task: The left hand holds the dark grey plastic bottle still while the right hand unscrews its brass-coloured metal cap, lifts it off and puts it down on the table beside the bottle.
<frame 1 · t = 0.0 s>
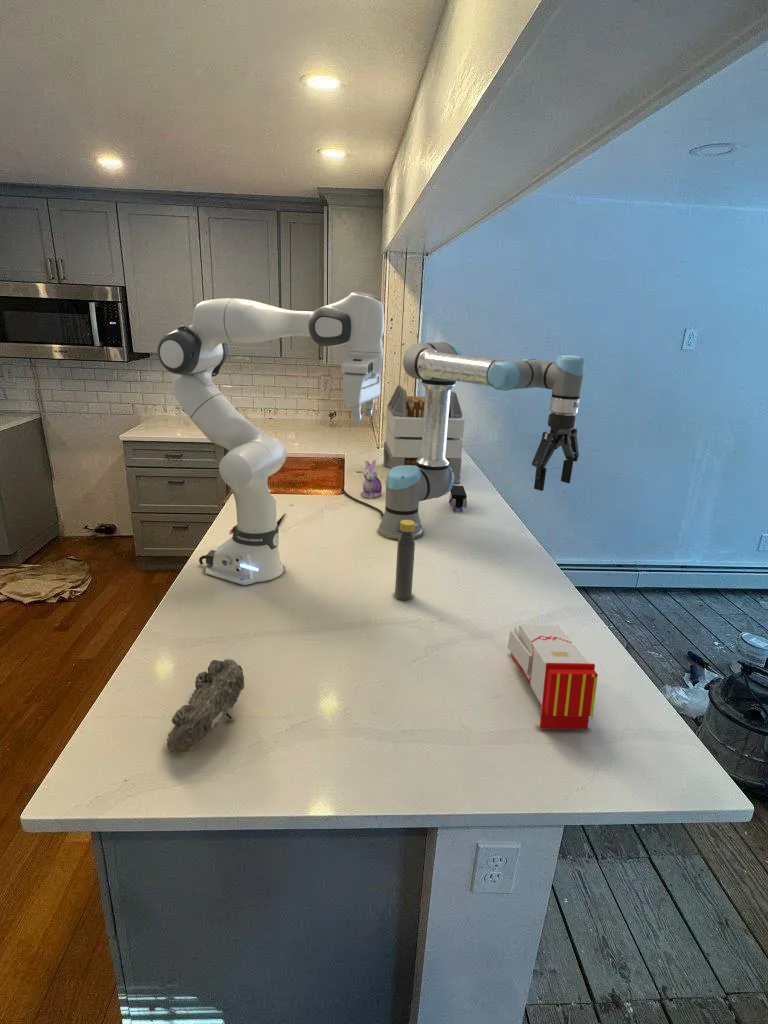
left hand: (362, 419, 144), 48 cm above the counter, tool pointing down, fingers open, 8 cm apart
right hand: (552, 485, 166), 28 cm above the counter, tool pointing down, fingers open, 13 cm apart
transformer: (419, 473, 275), on the counter
toy: (542, 685, 122), on the counter
grey elongated lump: (212, 717, 108), on the counter
figurine: (371, 495, 239), on the counter
feather: (283, 517, 211), on the counter
figurine character: (456, 507, 229), on the counter
bottle: (403, 595, 157), on the counter
cap: (407, 523, 150), point 22 cm above the counter, screwed on, not yet turned
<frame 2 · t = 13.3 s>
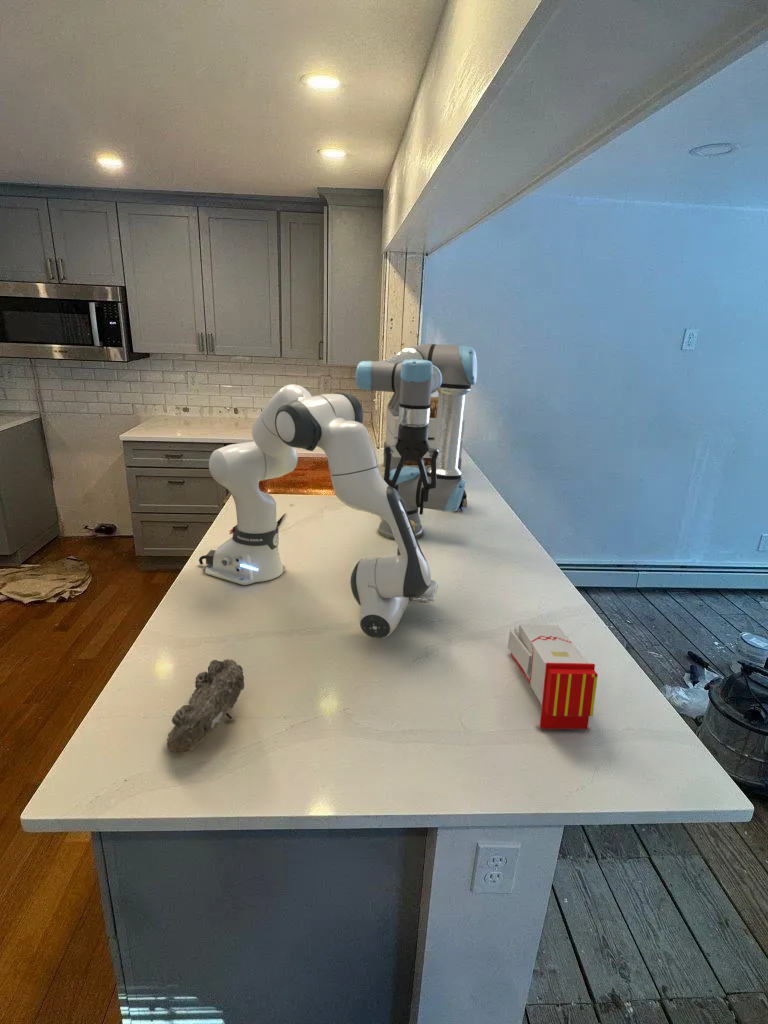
left hand: (405, 573, 156), 7 cm above the counter, tool horizontal, fingers closed on bottle, 4 cm apart
right hand: (408, 511, 148), 25 cm above the counter, tool pointing down, fingers open, 6 cm apart
bottle: (403, 595, 157), on the counter, touching left hand
everything else where it was.
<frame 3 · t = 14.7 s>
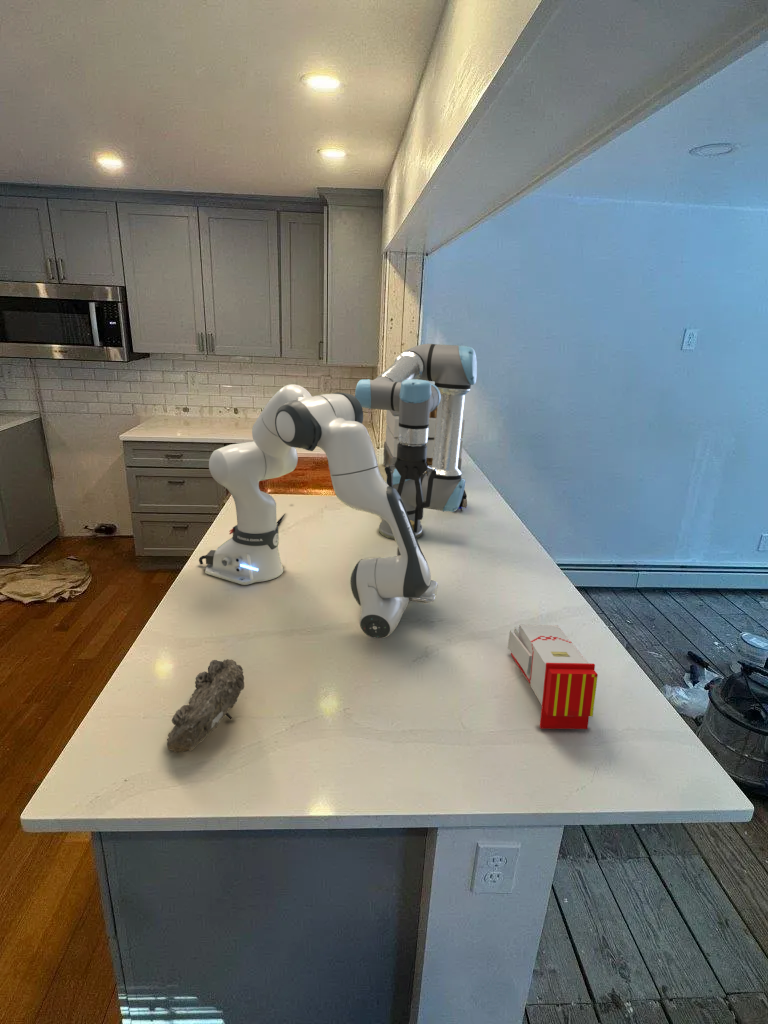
left hand: (405, 573, 156), 7 cm above the counter, tool horizontal, fingers closed on bottle, 4 cm apart
right hand: (407, 529, 150), 20 cm above the counter, tool pointing down, fingers closed on cap, 4 cm apart
bottle: (403, 595, 157), on the counter, touching left hand
cap: (407, 523, 150), point 22 cm above the counter, screwed on, not yet turned, touching right hand
everything else where it was.
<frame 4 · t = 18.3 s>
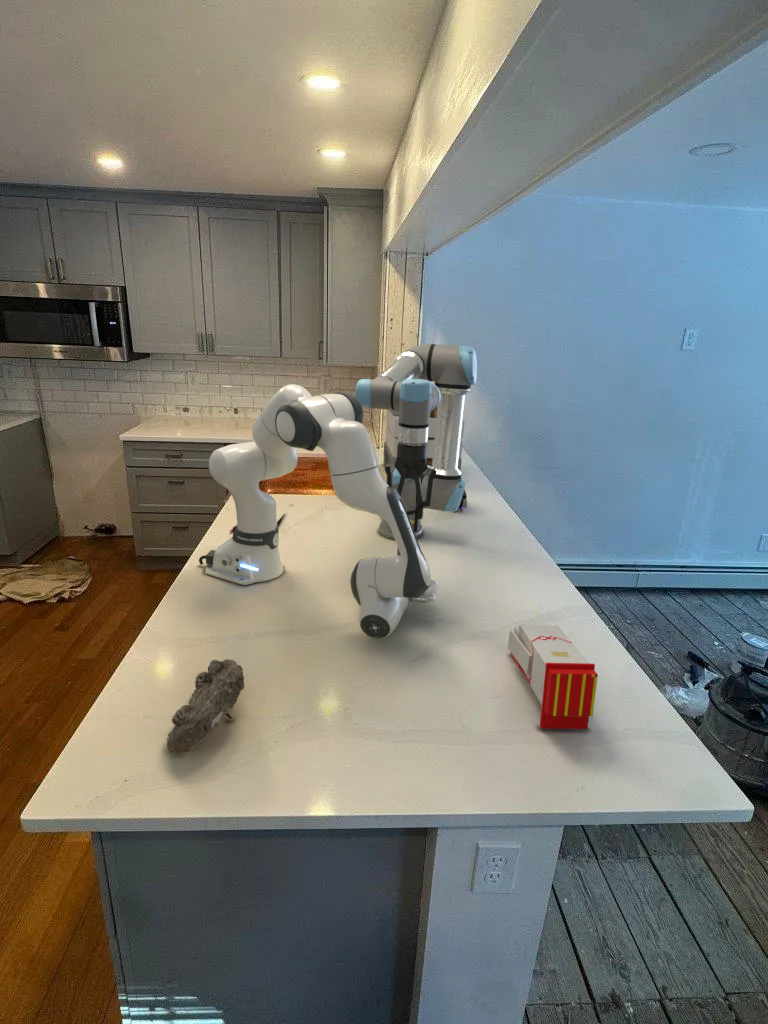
left hand: (405, 573, 156), 7 cm above the counter, tool horizontal, fingers closed on bottle, 4 cm apart
right hand: (407, 529, 150), 20 cm above the counter, tool pointing down, fingers closed on cap, 4 cm apart
bottle: (403, 595, 157), on the counter, touching left hand
cap: (407, 522, 150), point 22 cm above the counter, turned 119° so far, risen 0.1 cm, still on its thread, touching right hand
everything else where it was.
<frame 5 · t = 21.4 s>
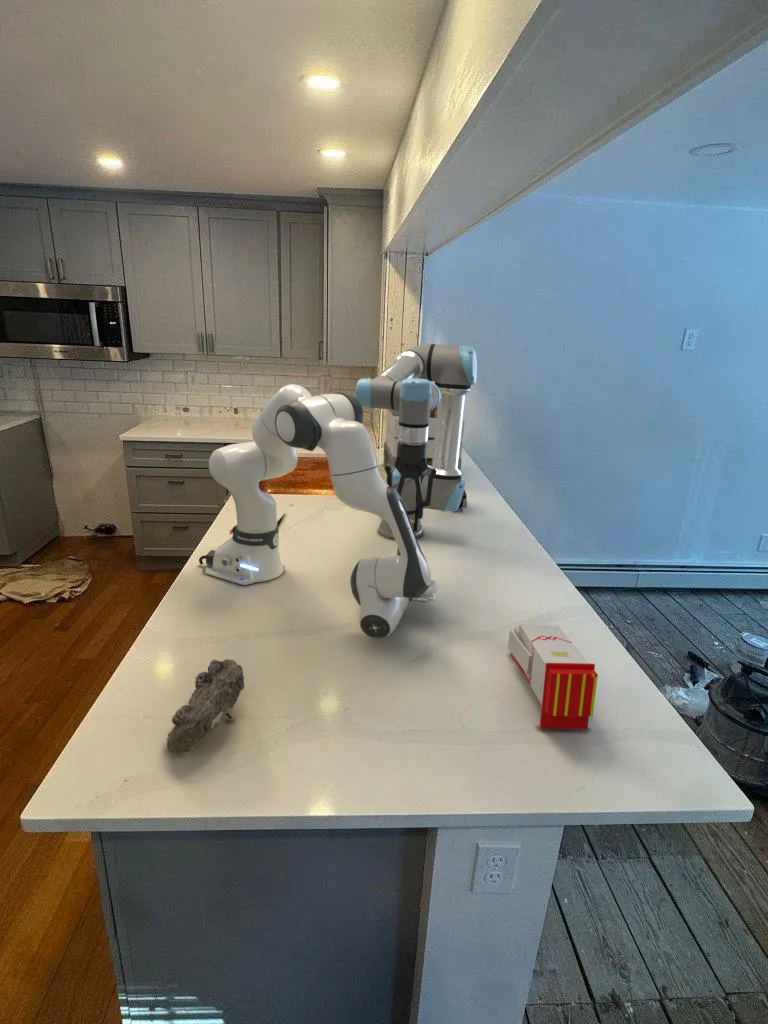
left hand: (405, 573, 156), 7 cm above the counter, tool horizontal, fingers closed on bottle, 4 cm apart
right hand: (407, 528, 150), 20 cm above the counter, tool pointing down, fingers closed on cap, 4 cm apart
bottle: (403, 596, 157), on the counter, touching left hand
cap: (407, 522, 150), point 22 cm above the counter, turned 238° so far, risen 0.3 cm, still on its thread, touching right hand
everything else where it was.
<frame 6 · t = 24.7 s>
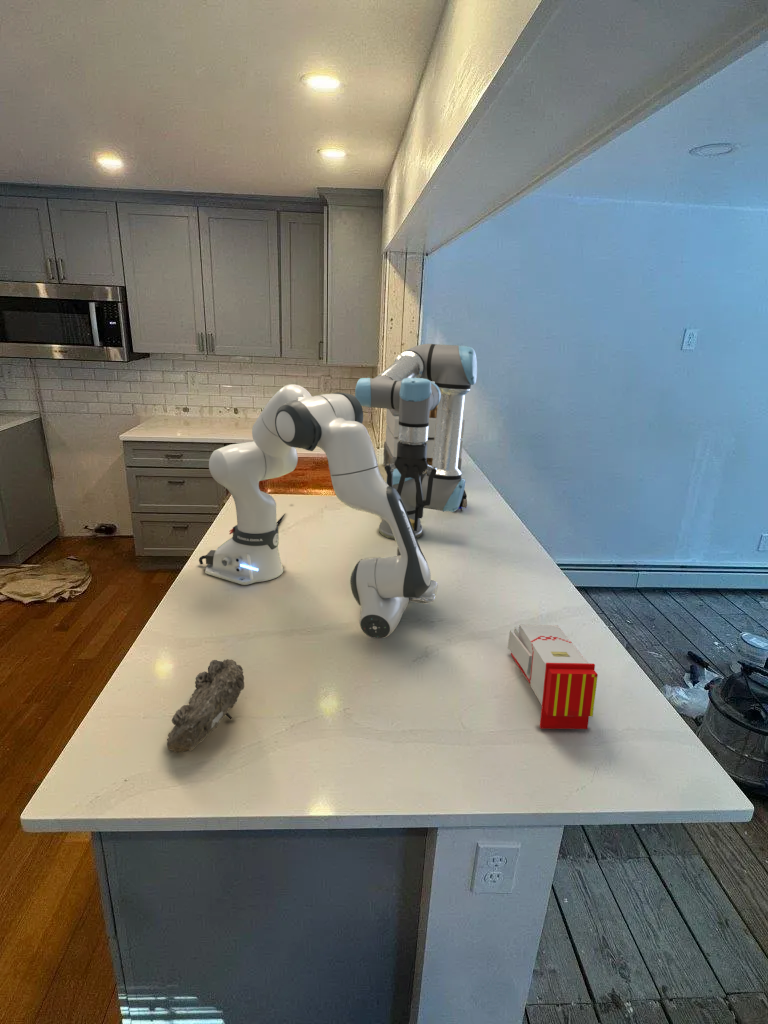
left hand: (405, 573, 156), 7 cm above the counter, tool horizontal, fingers closed on bottle, 4 cm apart
right hand: (407, 528, 150), 20 cm above the counter, tool pointing down, fingers closed on cap, 4 cm apart
bottle: (403, 596, 157), on the counter, touching left hand
cap: (407, 522, 149), point 22 cm above the counter, turned 357° so far, risen 0.4 cm, still on its thread, touching right hand
everything else where it was.
when the right hand's fingers open (2 cm above the counter, at t = 33.0 s): cap drops 2 cm, point 2 cm above the counter.
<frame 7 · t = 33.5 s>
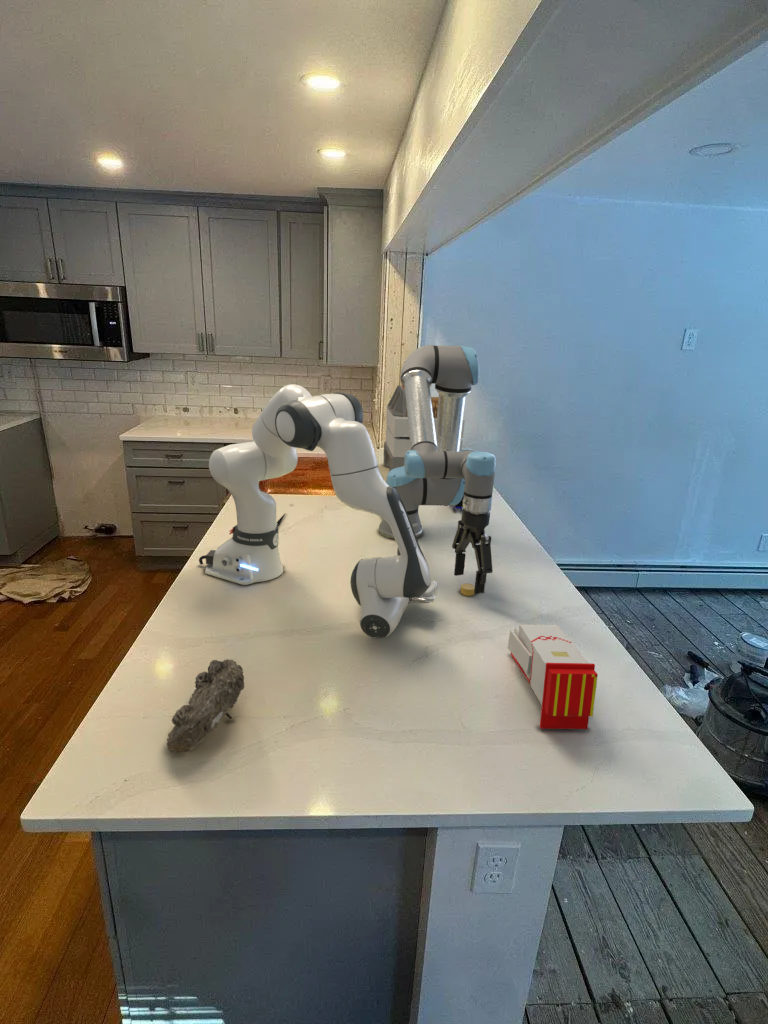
left hand: (405, 573, 156), 7 cm above the counter, tool horizontal, fingers closed on bottle, 4 cm apart
right hand: (468, 583, 159), 3 cm above the counter, tool pointing down, fingers open, 11 cm apart
bottle: (403, 595, 157), on the counter, touching left hand
cap: (468, 587, 160), point 2 cm above the counter, off its thread
everything else where it was.
when the left hand's fingers open (7 cm above the counter, at t = 34.3 s): bottle stays where it is, on the counter.
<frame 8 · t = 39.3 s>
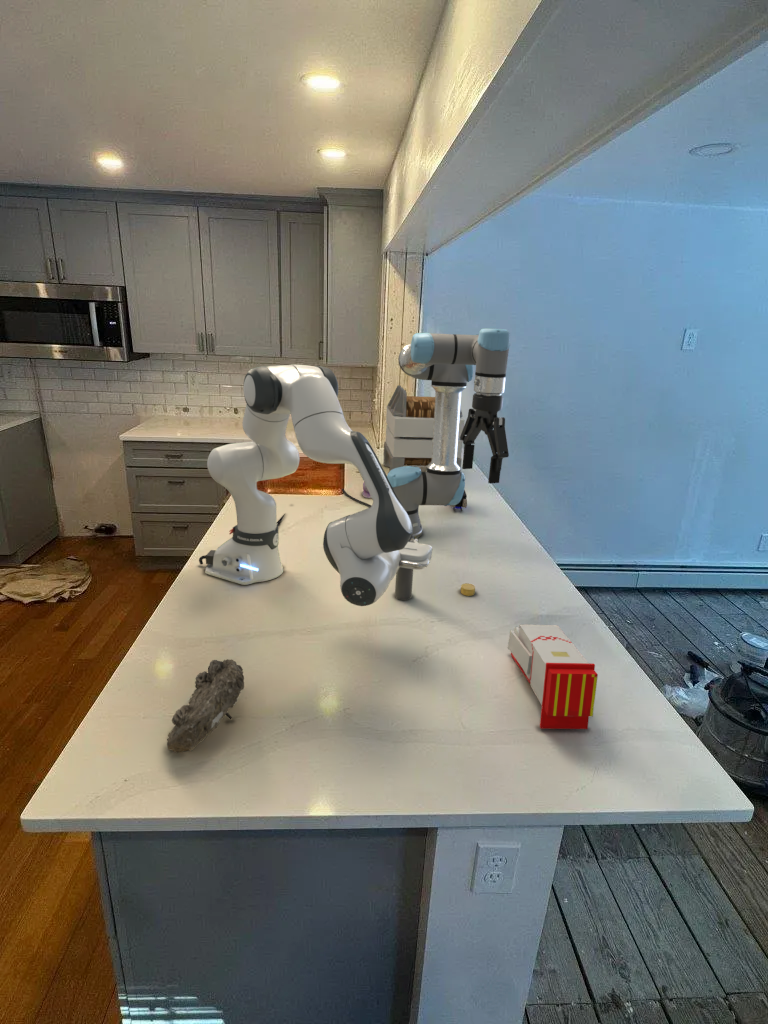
left hand: (395, 538, 138), 22 cm above the counter, tool horizontal, fingers open, 8 cm apart
right hand: (479, 475, 149), 34 cm above the counter, tool pointing down, fingers open, 13 cm apart
bottle: (403, 595, 157), on the counter
everything else where it was.
at the end: cap came off its thread; cap point 1.7 cm above the counter; the left hand is holding nothing; the right hand is holding nothing; bottle tilted 0°; bottle moved 0.0 cm from its start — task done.
